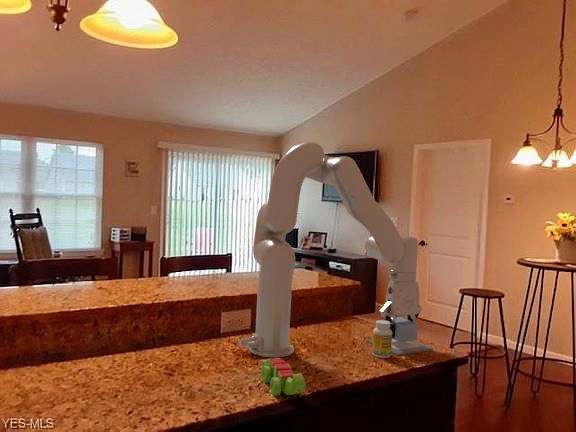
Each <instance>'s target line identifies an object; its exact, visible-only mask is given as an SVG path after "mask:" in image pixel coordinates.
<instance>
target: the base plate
mask: <svg viewBox="0 0 576 432" xmlns="http://www.w3.org/2000/svg"><path fill="white" fill-rule="evenodd" d="M366 343H369V344H371V345H373V338H368V339H366ZM433 350H434V348H433V347H430V346H428V345H426V344H423V343H420V342H418V341H417V340H414V341H405V342H398V341H396V340H394V339H392V346H391V354H392V353H393V354H392V355H394V354H395V356H397V357H398V356H403V355H410V354H411V355H412V354H417V353H424V352H430V351H433Z"/></svg>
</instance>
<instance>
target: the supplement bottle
mask: <svg viewBox="0 0 576 432" xmlns="http://www.w3.org/2000/svg"><path fill="white" fill-rule="evenodd" d="M375 326H376V327H374V329H373V330H372V339H373V344H372V349H371V351H372V352H371V354H372V355H373V356H374V357H377V358H380V359H381V358H382V359H386V358H387V359H388V358H390V357H391V355H392V353H391V346H392V331H391V330H390V329H389V328H390V322H389V321H385V320H384V319H383V320H382V319H378V320H376V321H375Z"/></svg>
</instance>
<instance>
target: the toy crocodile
mask: <svg viewBox="0 0 576 432" xmlns="http://www.w3.org/2000/svg"><path fill="white" fill-rule="evenodd" d="M260 365H261V370H260V371H261V374H260V375H261V379H262V381H263V383H266V384H267V383H269V389H270V393H271V395H272V396H273V397H277V396H281V393H282V392H283V393H284V394H285V395H288V396H291V395H297V394H301V393H304V392H305V391H306V387H307V383H306V380H305V377H304V376H303V374H302V373H301V372H299V373H298V372H297V373H295V372H294V371H293V370H292V367H291V364H290V363H287V362H286V361H285V360H284V359H282V357H273V358H267V359H261V360H260Z"/></svg>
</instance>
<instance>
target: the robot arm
mask: <svg viewBox="0 0 576 432" xmlns="http://www.w3.org/2000/svg"><path fill="white" fill-rule="evenodd" d="M306 178H308V179H310V180H313V181H316V182H318V183H320V184H324V185H327V186H334V188H335V190H336V192H337V194H338V196H339V198H340V200H341V201H342V203H343V205H344V208H345V210H346V211H347V213H348V214H349V215H350V216H351V217H352V218H353V219H354V220H355V221H356V222H358V223H359V224H360V225H362V226H363V227H364V228H365V229H366V231H368V233H369V234H370V235H371V236H370V237H368V238H367V239H366V240H365V242H364V249H365V252H366V254H367V255H368V256H369V257H370V258H372V259H374V260H378V261H382V262H385V263H388V264H391V266H390V273H389V274H388V278H389V279H390V280H388V284H387V288H386V293H385V304H384V306H383V307H382V308H381V309H380V310H379V314H380V315H381V317H382V318H383V320H385V321H389V322H390V328H389V329H390V330H391V331H392V338H394V337H395V324H394V322H395V320H396V317H406V319H407V320H409V321H412V322H415V323H417V318H418V317H419V315H420V314H421V312H422V310H423V307H422V306H421V305H420V288H419V282H418V281H417V269H418V267H417V266H418V252H419V241H418V239H417V237H414V236H408V235H400V233H399V231H398V229H397V227H396V225H395V224H394V222H393V220H392V219H391V218H390V217H389V215H388V214H387V213H386V212H385V210H383V208H382V207H381V205H379V203H378V202H377V201H376V199H375V197H374V196H373V193H372V192H371V190H370V188H369V186H368V184H367V182H366V180H365V179H364V176H363V174H362V172H361V170H360V168H359V167H358V164H357V163H356V161H355V159H353V158H351V157H349V156H345V155H344V156H335V157H334V156H330V155H326V154H325V151H324V148H323V147H322V146H321V145H320V144H319V143H317V142H313V141H307V142H303V143H300V144H297V145H294V146H292V147H291V148H290V149H289V150H287V153H285V154H284V155H283V157H281V159H280V160H279V161H278V163H277V164H276V166H275V169H274V171H273V174H272V177H271V182H270V188H269V194H268V200H267V201H266V202H264V203H263V204H262V205H261V206H260V208H259V211H258V213H257V217H256V223H255V224H256V225H255V230H254V239H253V249H252V250H253V259H254V260H255V262H256V263H257V264H258V265H259V266H260V267H259V274H258V280H257V294H256V295H257V296H256V297H257V298H256V299H257V300H256V315H255V316H256V317H255V318H256V319H255V333H253V332H252V333H251V336H250V337H249V338H239V339H238V345H239V346H240V347H243V346H244V347H245V346H246V347H247V348H248V349H249V352H250V353H252V354H254V355H255V356H259V357H264V358H285V357H288V356H291V355H292V354H293V353H294V352H295V347H294V345H293V344H291V343H290V342H289V341H290V326H291V325H290V324H291V310H292V309H291V306H292V305H291V304H292V289H293V288H292V287H293V286H292V285H293V279H294V278H293V277H294V272H295V271H294V270H295V267H296V254H295V251H294V249H293V247H292V245H290V243H288V242H287V241H286V236H287V234H288V233H290V232H292V231H293V230H294V229H295V228H296V225H297V220H298V212H299V205H300V204H299V203H300V195H301V190H302V185H303V183H304V181H305V179H306Z"/></svg>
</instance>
